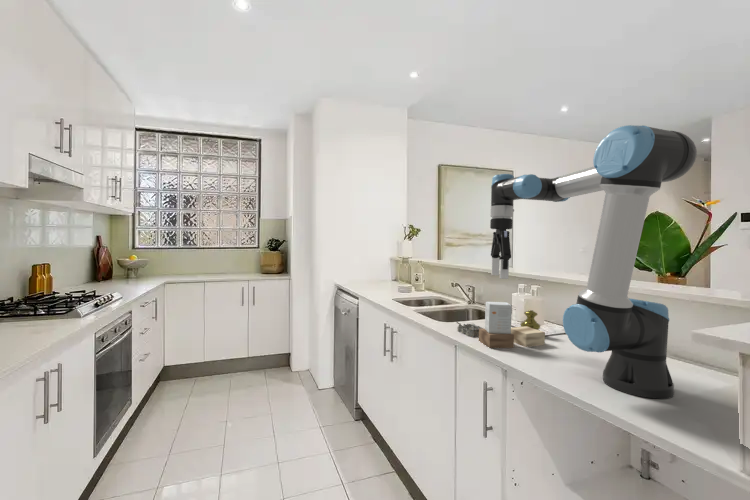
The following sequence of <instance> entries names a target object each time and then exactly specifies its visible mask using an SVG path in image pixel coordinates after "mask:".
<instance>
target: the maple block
mask: <svg viewBox="0 0 750 500" xmlns="http://www.w3.org/2000/svg"><path fill="white" fill-rule="evenodd" d="M511 333H512V334H514V344H516V345H519V346H523V347H524V348H531V347H538V346H545V343H546V341H545V340H546V338H545V337H546V332H545V331H543V330H540V329H539V330H536V329H533V328H530V327H527V326H524V327H521V326H516V327H511Z"/></svg>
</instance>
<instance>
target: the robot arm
mask: <svg viewBox="0 0 750 500" xmlns="http://www.w3.org/2000/svg"><path fill="white" fill-rule="evenodd" d="M696 158H697V147H696V144H695V141H694V140H692V139H691V137H689V136H688V135H687V134H685V133H683V132H679V131H675V130H669V129H663V128H657V127H650V126H647V125H632V124H631V125H622V126H620V127H617V128H615V129H613V130H612V131H610V132H609V133H608V134H607V135H606V136H603V138H602V139H601V140H600V142H599V143H598V145H597V147H596V149H595V151H594V154H593V163H592V164H593V166H590V167H589V168H588V167H587V168H584V169H581V170H577V171H574V172H571V173H566V174H563V175H561V176H557V177H553V178H548V177H547V178H546V177H538V176H537V175H536V174H531V173H530V174H522V175H519V176H514V174H510V173H500V174H495V175H494V176H492V179H491V187H490V189H491V190H490V191H491V192H490V193H491V196H490V198H491V199H490V201H491V202H490V218H491V219H490V225H489V226H490V227H489V228H490V229H491V230H495V231H493V233H492V234H493V235H492V244H491V251H490V257H491V273H490V275H491V276H499V279H500V280H509V273H510V272H509V271H510V269H509V268H510V259H511V258H512V251H511V243H510V242H511V239H510V230H512V229H513V222H514V221H513V218H512V217H513V214H514V212H515V209H514V201H515V200H516V201H517V200H527V201H528V200H529V201H530V200H531V201H543V202H544V201H547V202H554V203H559V202H566V201H568V200H569V199H570V198H573V197H579V196H583V195H588V194H592V193H596V192H604V193H605V195H604V200H603V205H602V209H601V215H600V219H599V225H598V229H597V234H596V240H595V244H594V249H593V254H592V258H591V259H592V260H591V264H590V270H589V273H588V279H587V283H586V284H587V285H586V288H584V289H582V290H580V291H579V292H578V294H577V299H576V303H575V304H572V305H570V306H568V307H567V308H565V310H564V313H563V315H562V327H563V330H564V332H565V335H566V336H567V339H569V341H570V343H572V345H574V346H575V347H576V348H578V349H579V350H581V351H584V352H591V353H593V352H594V353H604V352H610V351H611V354H610V356H609V358H608V360H607V363H606V365H605V367H604V369H603V371H602V381H603V382H604V384H605V385H608V386H609V387H610V388H613V389H615V390H618V391H620V392H622V393H626V394H629V395H633V396H636V397H643V398H648V399H649V398H650V399H661V400H662V399H669V398H673V396H674V395H675V394H674V393H675V385H674V381H673V379H672V376H671V372H670V370H669V368H668V364H667V356H668V337H669V336H668V334H669V322H670V318H669V308H668V306H667V305H666V304H664V303H658V302H653V301H647V300H642V299H635V298H630V297H628V294H629V289H630V285H631V281H632V278H633V277H632V276H633V272H634V268H635V263H636V258H637V255H638V254H637V253H638V251H639V250H638V249H639V246H640V240H641V237H642V232H643V228H644V224H645V218H646V215H647V209H648V207H649V202H650V197H651V196H652V195H653V194H655V193H657V192H659V191H660V190H661V188H662V187H661V186H662V183H666V182H672V181H674V180H677V179H680V178H681V177H683V176H684V175H686V174H688V172H690V170H691V169H692V167H694V165H695V162H696ZM508 230H509V231H508Z"/></svg>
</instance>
